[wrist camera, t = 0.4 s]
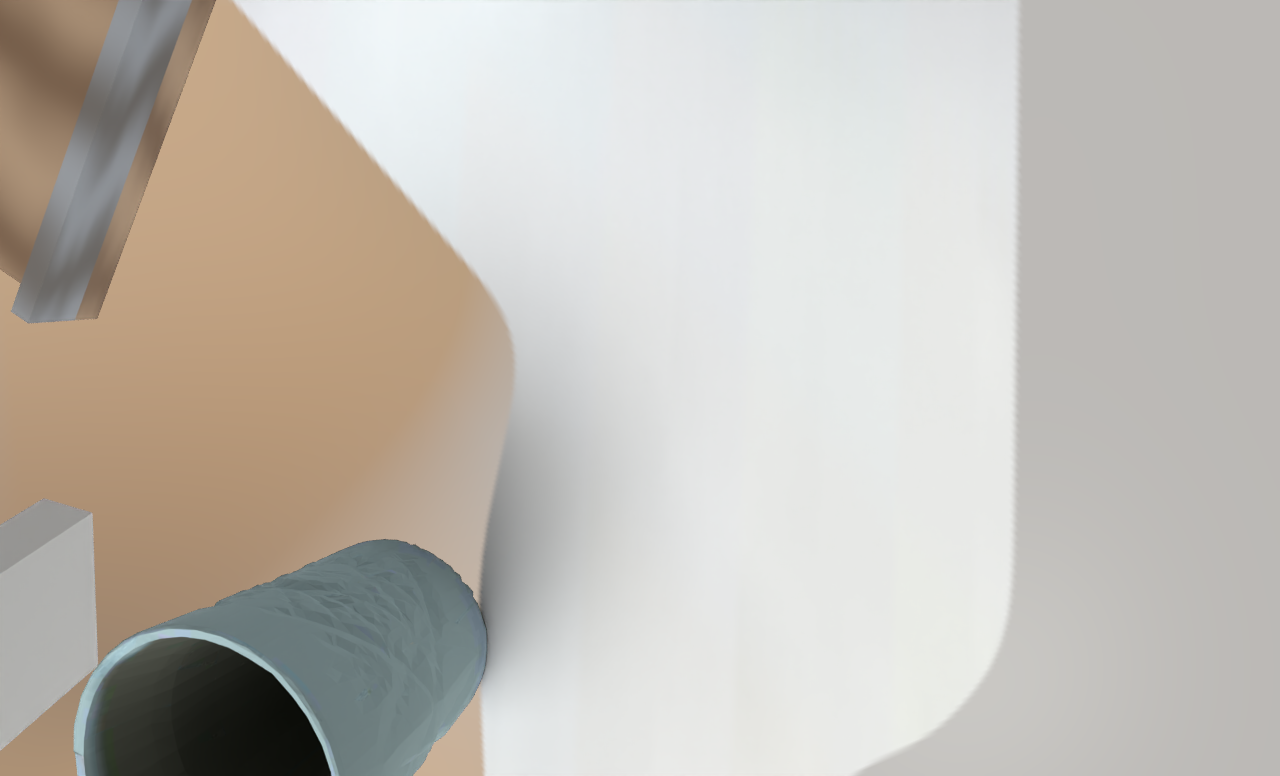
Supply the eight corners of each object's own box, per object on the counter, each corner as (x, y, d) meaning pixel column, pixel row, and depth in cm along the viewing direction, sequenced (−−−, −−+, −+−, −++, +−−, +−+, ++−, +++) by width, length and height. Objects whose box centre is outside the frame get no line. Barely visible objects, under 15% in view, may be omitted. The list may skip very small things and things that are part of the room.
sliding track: (-4, -257, 41) (-86, -303, 37) (258, -114, 38) (195, -150, 35) (-127, 166, 46) (-209, 159, 42) (97, 318, 43) (28, 323, 40)
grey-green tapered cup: (391, 475, 40) (179, 561, 28) (557, 653, 39) (406, 817, 27) (259, 626, 43) (19, 758, 31) (410, 795, 42) (218, 997, 30)
